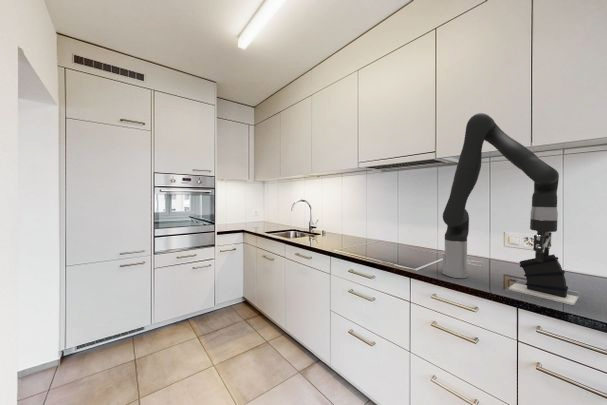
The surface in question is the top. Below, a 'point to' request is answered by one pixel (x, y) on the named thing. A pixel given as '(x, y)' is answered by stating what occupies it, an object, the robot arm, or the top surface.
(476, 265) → the pliers
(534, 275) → the magazine
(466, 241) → the robot arm
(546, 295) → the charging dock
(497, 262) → the top surface
